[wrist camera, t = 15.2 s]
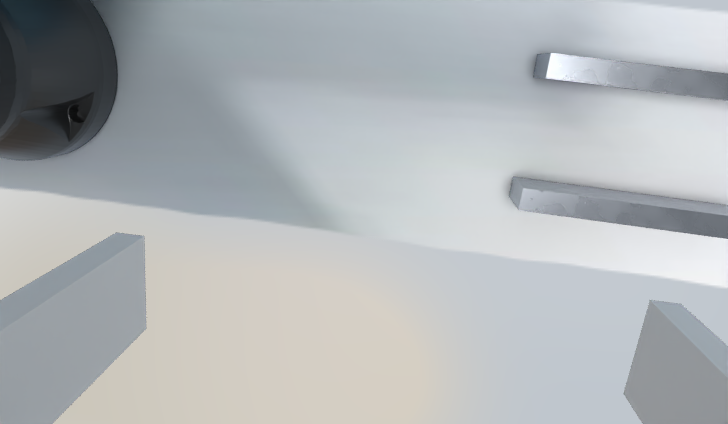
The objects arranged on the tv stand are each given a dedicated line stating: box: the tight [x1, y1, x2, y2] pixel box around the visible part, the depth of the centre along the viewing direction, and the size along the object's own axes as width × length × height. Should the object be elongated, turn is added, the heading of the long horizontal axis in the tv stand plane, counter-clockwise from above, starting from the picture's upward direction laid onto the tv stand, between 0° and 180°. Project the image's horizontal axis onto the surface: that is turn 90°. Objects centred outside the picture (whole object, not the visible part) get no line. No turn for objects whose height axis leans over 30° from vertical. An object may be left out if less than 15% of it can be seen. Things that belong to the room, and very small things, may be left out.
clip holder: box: [509, 53, 728, 239], centre depth 37 cm, size 16×11×4 cm
